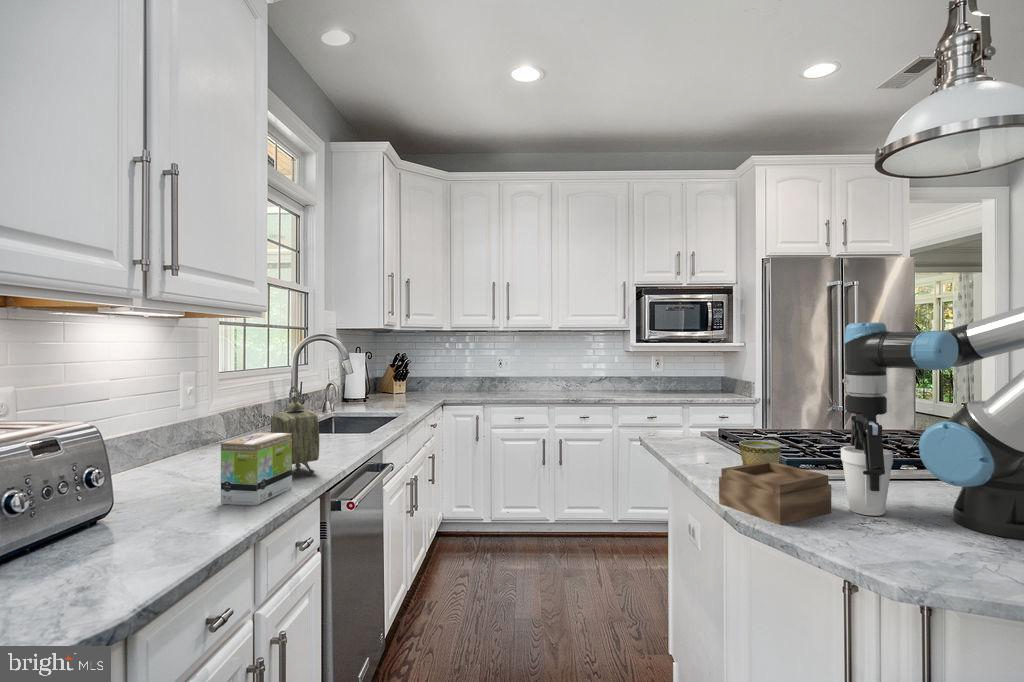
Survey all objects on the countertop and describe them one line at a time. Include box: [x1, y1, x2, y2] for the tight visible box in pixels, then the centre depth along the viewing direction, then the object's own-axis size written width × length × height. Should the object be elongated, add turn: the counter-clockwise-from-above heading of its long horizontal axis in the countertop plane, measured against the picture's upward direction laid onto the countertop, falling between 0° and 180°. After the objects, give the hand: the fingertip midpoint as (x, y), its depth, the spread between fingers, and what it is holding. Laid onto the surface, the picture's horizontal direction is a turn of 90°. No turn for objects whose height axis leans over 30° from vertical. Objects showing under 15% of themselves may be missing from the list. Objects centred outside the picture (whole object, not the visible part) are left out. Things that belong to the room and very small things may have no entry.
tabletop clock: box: [270, 385, 320, 476], centre depth 159 cm, size 14×9×25 cm, turn 40°
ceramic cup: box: [738, 439, 782, 465], centre depth 145 cm, size 13×10×10 cm
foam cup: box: [840, 445, 894, 517], centre depth 120 cm, size 10×9×13 cm
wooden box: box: [718, 461, 832, 526], centre depth 123 cm, size 16×16×8 cm
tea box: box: [220, 432, 293, 506], centre depth 138 cm, size 15×10×15 cm, turn 171°
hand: (866, 498), depth 120 cm, fingers closed on foam cup, 9 cm apart
